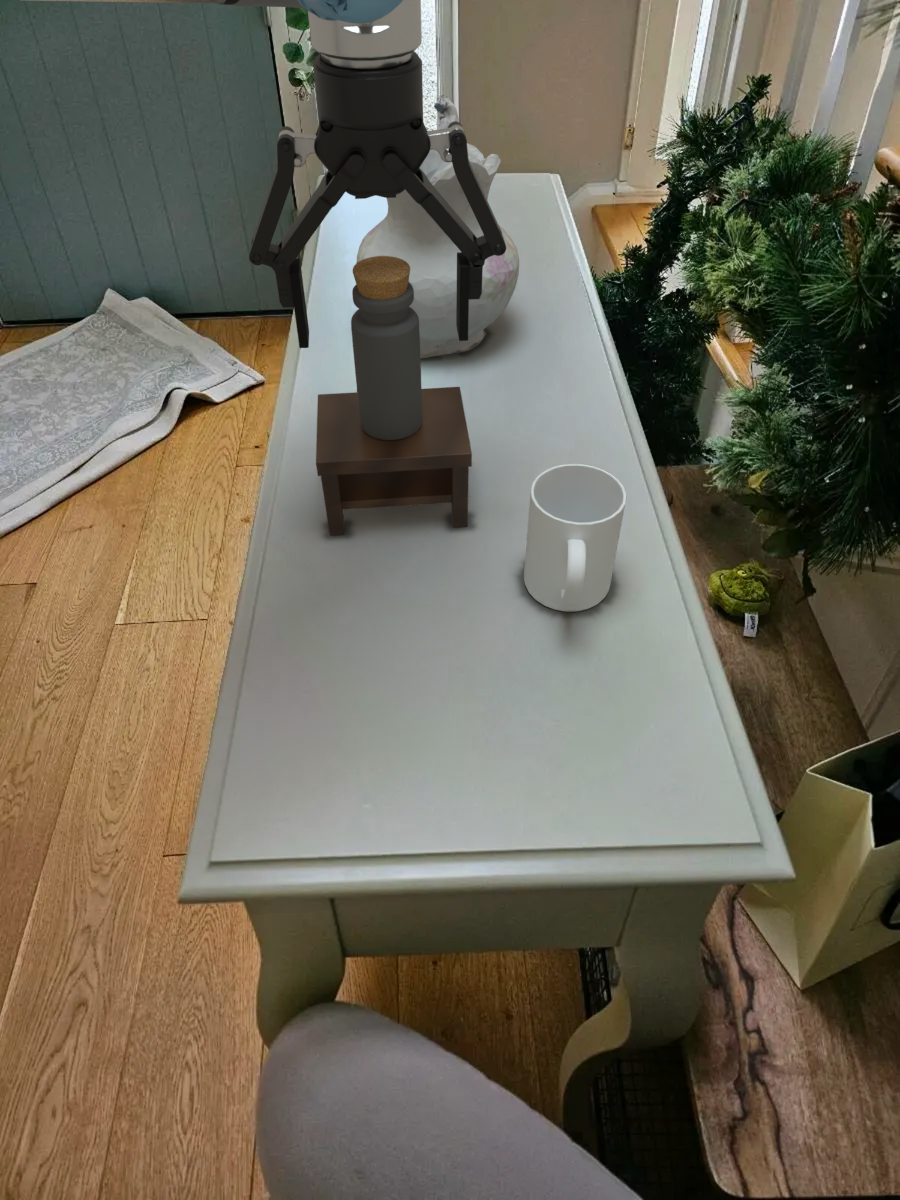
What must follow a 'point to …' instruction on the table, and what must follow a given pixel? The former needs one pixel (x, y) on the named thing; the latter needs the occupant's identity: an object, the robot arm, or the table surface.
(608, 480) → the mug
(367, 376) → the bottle
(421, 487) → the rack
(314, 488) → the table surface
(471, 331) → the ceramic pitcher
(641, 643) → the table surface
